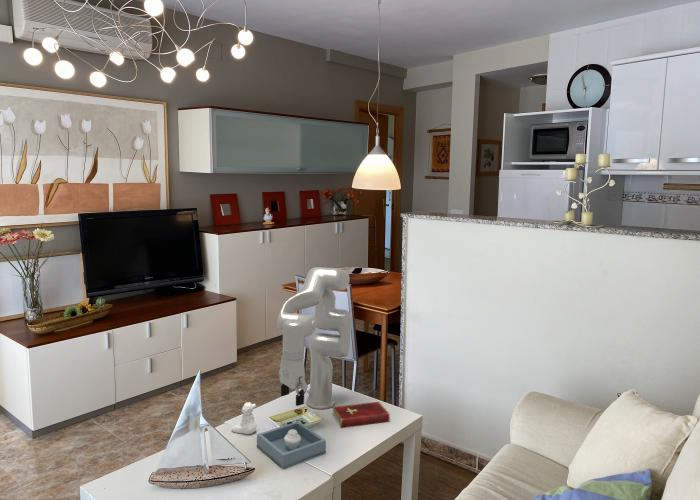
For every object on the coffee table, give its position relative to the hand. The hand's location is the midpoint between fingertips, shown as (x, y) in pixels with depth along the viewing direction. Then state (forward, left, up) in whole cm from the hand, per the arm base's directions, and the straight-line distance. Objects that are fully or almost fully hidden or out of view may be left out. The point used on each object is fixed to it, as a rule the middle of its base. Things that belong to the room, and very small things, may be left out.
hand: (292, 399), depth 193 cm
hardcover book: (-5, +37, -20) cm, 42 cm away
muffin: (+1, 0, -18) cm, 18 cm away
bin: (0, 0, -19) cm, 19 cm away
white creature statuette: (-22, -6, -20) cm, 30 cm away
